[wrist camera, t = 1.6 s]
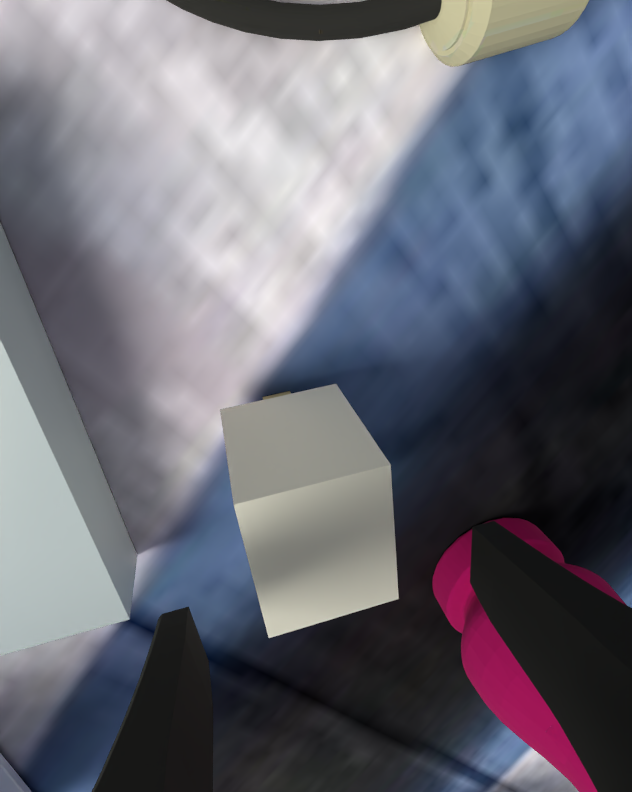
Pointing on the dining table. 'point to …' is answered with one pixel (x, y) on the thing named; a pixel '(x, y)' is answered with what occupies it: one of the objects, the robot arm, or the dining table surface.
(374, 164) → the dining table surface
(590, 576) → the pepper mill
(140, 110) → the dining table surface
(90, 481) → the socket plate
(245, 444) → the cream rectangular block
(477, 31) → the cable
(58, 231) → the dining table surface
